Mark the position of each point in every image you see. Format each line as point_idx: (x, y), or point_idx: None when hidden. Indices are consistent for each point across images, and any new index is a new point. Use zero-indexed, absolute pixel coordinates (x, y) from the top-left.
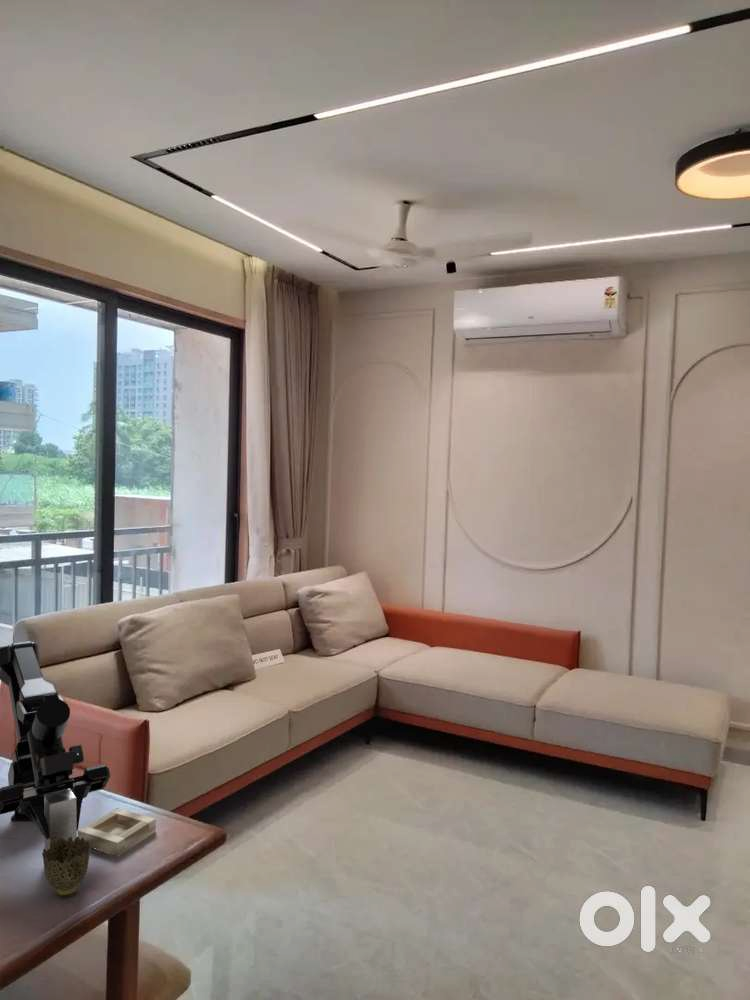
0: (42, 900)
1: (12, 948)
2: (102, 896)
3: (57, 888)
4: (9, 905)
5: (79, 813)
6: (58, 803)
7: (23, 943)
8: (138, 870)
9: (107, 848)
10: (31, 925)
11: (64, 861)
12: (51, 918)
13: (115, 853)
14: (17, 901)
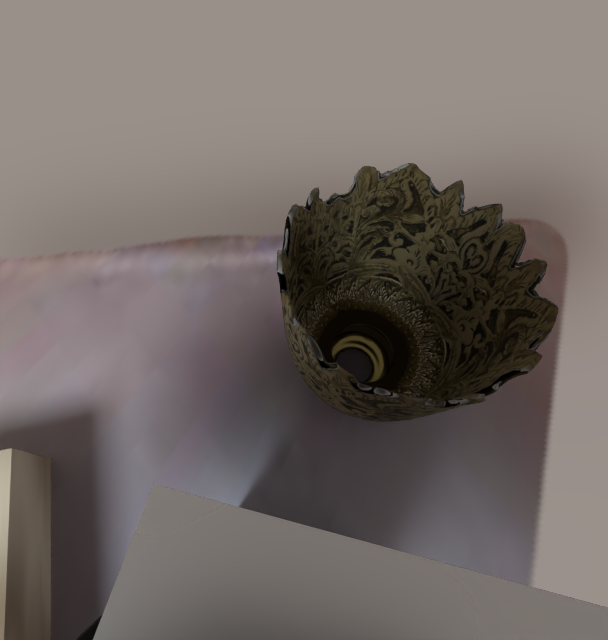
0: None
1: (560, 250)
2: None
3: (421, 313)
4: (542, 459)
5: (97, 627)
6: (531, 594)
7: (533, 247)
8: (93, 297)
9: (38, 533)
10: None
11: (462, 190)
12: None
13: (45, 472)
14: (513, 461)
